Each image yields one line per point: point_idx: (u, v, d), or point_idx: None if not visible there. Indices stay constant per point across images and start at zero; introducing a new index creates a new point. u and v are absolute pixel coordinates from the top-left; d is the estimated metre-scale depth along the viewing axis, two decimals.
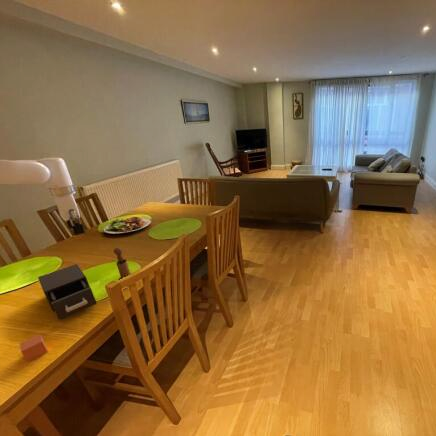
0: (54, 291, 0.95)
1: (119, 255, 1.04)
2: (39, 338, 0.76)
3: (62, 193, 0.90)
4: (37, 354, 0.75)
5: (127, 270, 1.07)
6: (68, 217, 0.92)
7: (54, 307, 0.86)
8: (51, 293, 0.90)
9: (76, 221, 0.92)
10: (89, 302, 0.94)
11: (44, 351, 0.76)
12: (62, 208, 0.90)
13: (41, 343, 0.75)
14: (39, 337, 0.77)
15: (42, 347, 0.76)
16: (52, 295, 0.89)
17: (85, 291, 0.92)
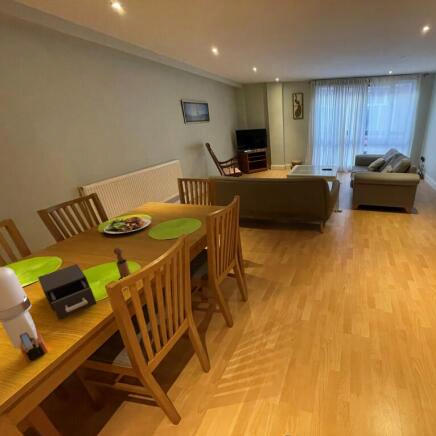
0: (54, 291, 0.95)
1: (119, 255, 1.04)
2: (39, 338, 0.76)
3: (10, 315, 0.67)
4: None
5: (127, 270, 1.07)
6: None
7: (54, 307, 0.86)
8: (51, 293, 0.90)
9: (31, 349, 0.71)
10: (89, 302, 0.94)
11: (44, 351, 0.76)
12: (10, 335, 0.68)
13: (41, 343, 0.75)
14: (39, 337, 0.77)
15: (42, 347, 0.76)
16: (52, 295, 0.89)
17: (85, 291, 0.92)
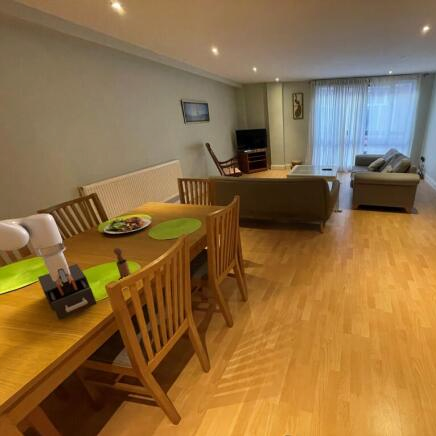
0: (54, 291, 0.95)
1: (119, 255, 1.04)
2: (71, 277, 0.92)
3: (50, 252, 0.83)
4: None
5: (127, 270, 1.07)
6: (57, 279, 0.86)
7: (54, 307, 0.86)
8: (51, 293, 0.90)
9: (65, 283, 0.86)
10: (89, 302, 0.94)
11: (75, 288, 0.92)
12: (50, 269, 0.83)
13: (73, 281, 0.91)
14: (70, 277, 0.92)
15: (73, 285, 0.91)
16: (52, 295, 0.89)
17: (85, 291, 0.92)
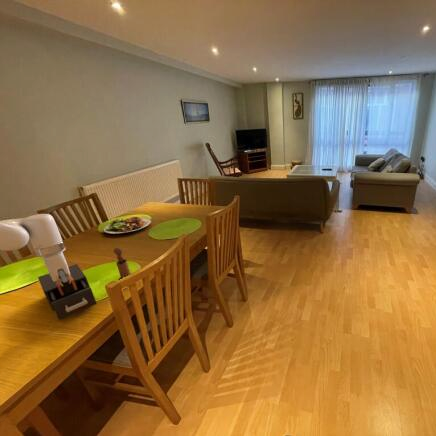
0: (54, 291, 0.95)
1: (119, 255, 1.04)
2: (71, 278, 0.92)
3: (50, 253, 0.83)
4: None
5: (127, 270, 1.07)
6: (57, 279, 0.86)
7: (54, 307, 0.86)
8: (51, 293, 0.90)
9: (65, 283, 0.87)
10: (89, 302, 0.94)
11: (75, 288, 0.92)
12: (50, 269, 0.83)
13: (73, 281, 0.91)
14: (70, 277, 0.92)
15: (73, 285, 0.91)
16: (52, 295, 0.89)
17: (85, 291, 0.92)
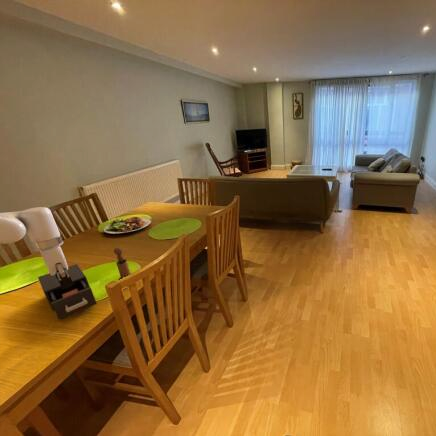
0: (54, 291, 0.95)
1: (119, 255, 1.04)
2: (77, 291, 0.94)
3: (48, 246, 0.82)
4: None
5: (127, 270, 1.07)
6: (55, 272, 0.84)
7: (54, 307, 0.86)
8: (51, 293, 0.90)
9: (63, 276, 0.84)
10: (89, 302, 0.94)
11: None
12: (48, 263, 0.82)
13: None
14: (77, 290, 0.95)
15: None
16: (52, 295, 0.89)
17: (85, 291, 0.92)
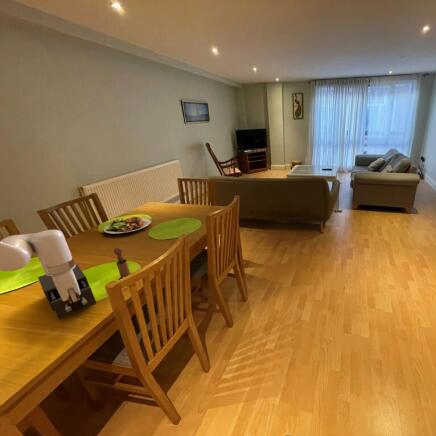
0: (54, 291, 0.95)
1: (119, 255, 1.04)
2: None
3: (60, 271, 0.78)
4: None
5: (127, 270, 1.07)
6: (67, 299, 0.82)
7: (54, 306, 0.86)
8: (51, 293, 0.91)
9: None
10: (89, 302, 0.94)
11: None
12: (59, 288, 0.78)
13: None
14: None
15: None
16: (52, 295, 0.90)
17: (85, 291, 0.92)
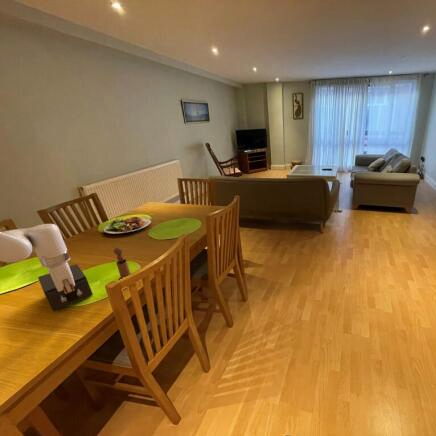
0: None
1: (119, 255, 1.04)
2: None
3: (55, 263, 0.82)
4: None
5: (127, 270, 1.07)
6: None
7: (50, 297, 0.90)
8: None
9: None
10: (84, 293, 0.98)
11: None
12: (55, 279, 0.82)
13: None
14: None
15: None
16: None
17: (80, 283, 0.97)
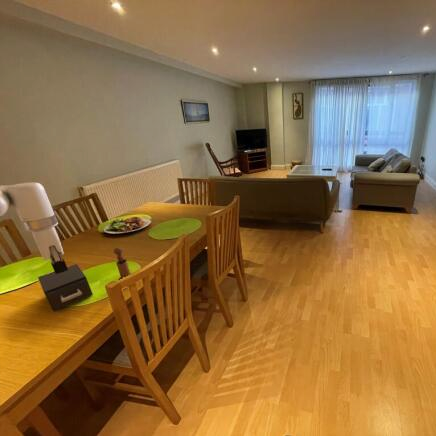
0: None
1: (119, 255, 1.04)
2: None
3: (40, 226, 0.73)
4: None
5: (127, 270, 1.07)
6: None
7: (50, 297, 0.90)
8: None
9: None
10: (84, 293, 0.98)
11: None
12: (40, 245, 0.73)
13: None
14: None
15: None
16: None
17: (80, 283, 0.97)
